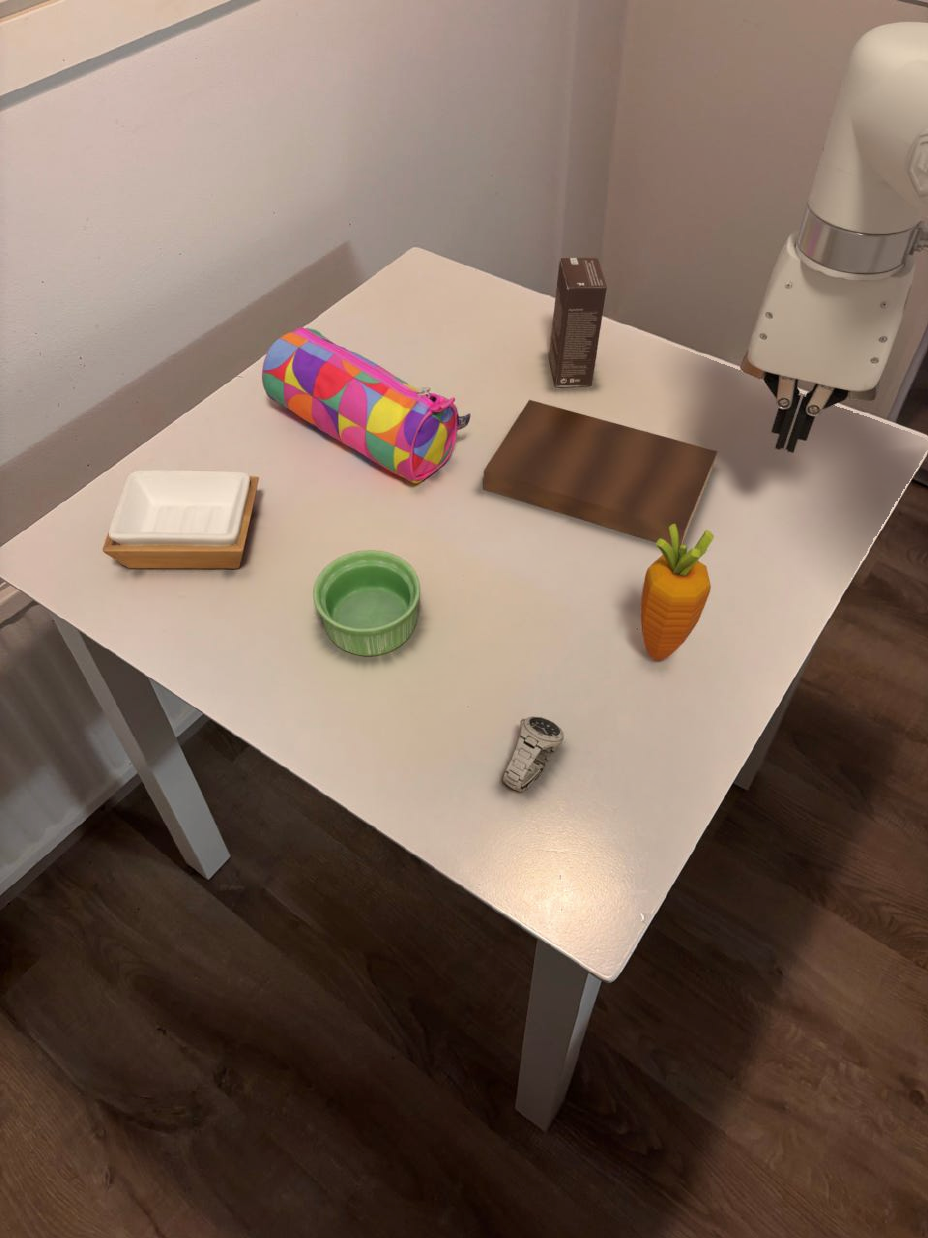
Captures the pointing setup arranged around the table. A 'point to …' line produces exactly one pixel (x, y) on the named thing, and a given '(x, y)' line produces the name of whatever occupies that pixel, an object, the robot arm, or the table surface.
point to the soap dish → (182, 519)
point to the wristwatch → (532, 752)
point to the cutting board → (600, 472)
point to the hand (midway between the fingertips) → (787, 440)
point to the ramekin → (368, 601)
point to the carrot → (674, 595)
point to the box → (576, 321)
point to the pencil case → (362, 404)
